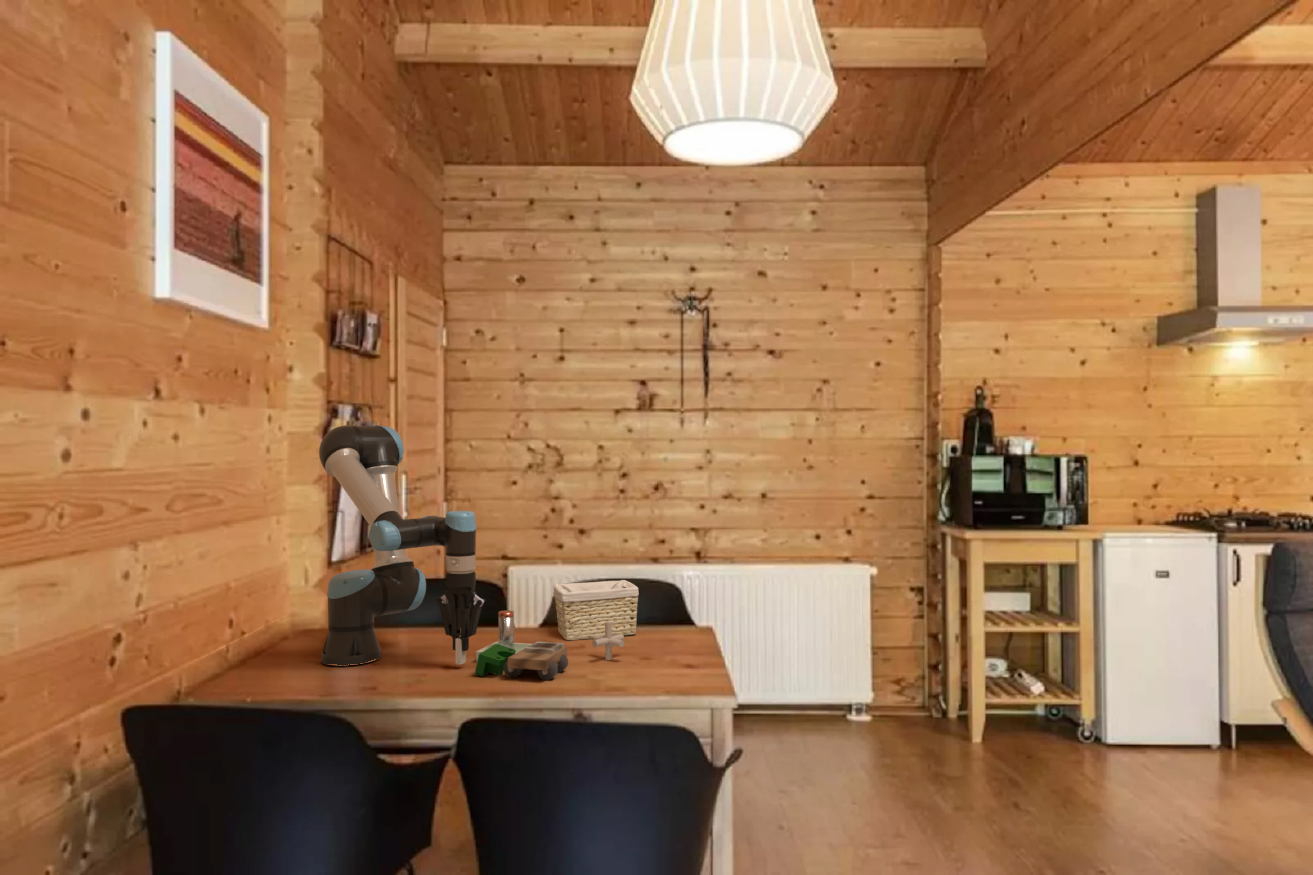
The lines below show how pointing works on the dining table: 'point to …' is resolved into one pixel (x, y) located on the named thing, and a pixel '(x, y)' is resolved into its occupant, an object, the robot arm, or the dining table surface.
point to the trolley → (538, 660)
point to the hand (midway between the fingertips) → (460, 663)
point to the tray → (517, 646)
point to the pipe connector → (608, 640)
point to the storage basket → (596, 608)
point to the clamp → (493, 660)
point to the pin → (506, 628)
